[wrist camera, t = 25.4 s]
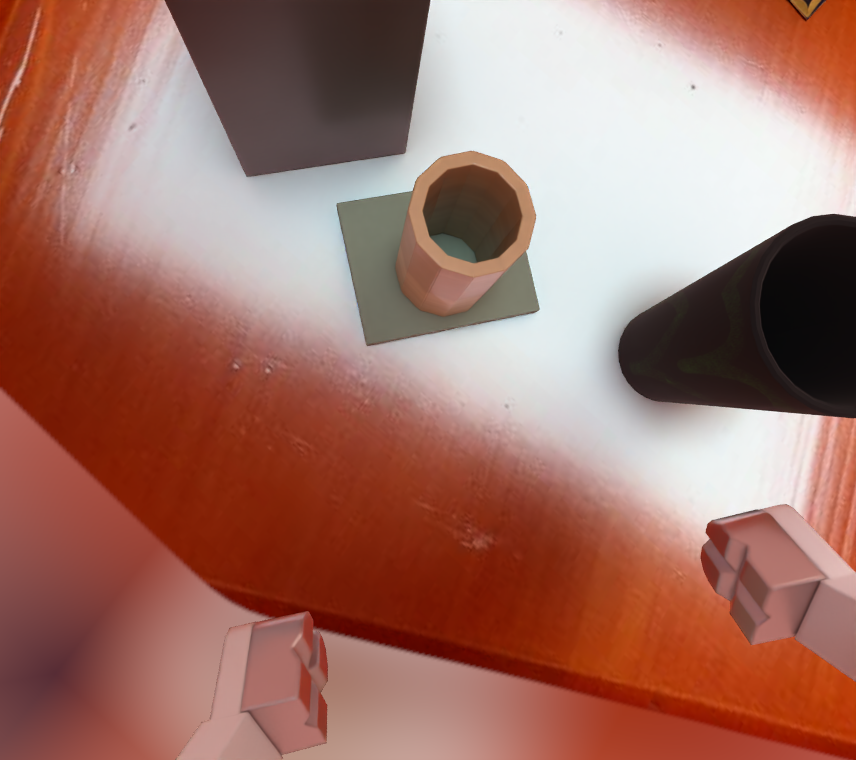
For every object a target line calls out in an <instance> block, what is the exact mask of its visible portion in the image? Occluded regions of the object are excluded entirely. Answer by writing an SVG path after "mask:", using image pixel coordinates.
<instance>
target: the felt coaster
mask: <svg viewBox="0 0 856 760" xmlns="http://www.w3.org/2000/svg"><path fill="white" fill-rule="evenodd" d="M412 192H413V191H411V192H405V193H399V194H392V195H386V196H380V197H374V198H367V199H361V200H355V201H349V202H342V203H337V210H338V215H339V219H340V224H341V229H342V233H343V238H344V243H345V247H346V252H347V257H348V261H349V266H350V270H351V275H352V280H353V284H354V289H355V294H356V298H357V303H358V308H359V312H360V317H361V322H362V326H363V331H364V336H365V340H366V345H367V346H369V345H374V344H379V343H384V342H389V341H394V340H399V339H404V338H409V337H414V336H419V335H424V334H429V333H434V332H439V331H444V330H449V329H454V328H459V327H464V326H469V325H474V324H479V323H484V322H489V321H494V320H499V319H504V318H509V317H514V316H519V315H524V314H529V313H534V312H537V311H539V310H540V309H539V305H538V300H537V296H536V292H535V288H534V283H533V279H532V275H531V270H530V266H529V262H528V258H527V253H526V251H525V252H524V253H523V254H522V256H521V257H520V258H519V259H518V260H517V261H516V262H515V263H514V264H513V265H512V266H511V267H510V268H509V269H508V270H507V271H506V272H505V273H504V274H503V275H502V276H501V277H500V278H499V279H498V281H497V282H496V283H495V284H494V285H493V286H492V287H491V288H490V289H489V290H488V291H487V292H486V293H485V294H484V295H483V296H482V297H481V298H480V299H479V300H478V301H477V302H476V303H475V304H474V305H473V306H472V307H471V308H470V309H469V310H468V311H465V312H461V313H457V314H453V315H449V316H445V317H444V316H443V317H442V316H438V315H435V314H432V313H428V312H425V311H421V310H420V309H418V308H417V307H416V306H415V305H414V304H413V303H412V302H411V301H410V300H409V299H408V298H407V297H406V296H405V295H404V294H403V293H402V291H401V288H400V285H399V281H398V277H397V273H396V270H395V265H396V261H397V256H398V252H399V247H400V242H401V238H402V233H403V229H404V224H405V220H406V215H407V211H408V207H409V203H410V200H411V196H412ZM429 237H430V238H431V239H432V240H433V241H434V242H435V243H436V244H437V245H438V246H439V247H440V248H441V249H442V250H443V251H444V252H445V253H446V254H447V255H448V256H451V257H454V258H458V259H461V260H464V261H468V262H471V263H477V259H476V255H475V252H474V251H473V250H472V249H471V248H470V247H469V246H468V245H467V244H466V243H465V242H464V241H463V240H462V239H461V238H458V237H455V236H451V235H448V234H445V233H441V234H436V235H432V236H429Z"/></svg>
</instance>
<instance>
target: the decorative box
mask: <svg viewBox="0 0 856 760" xmlns="http://www.w3.org/2000/svg"><path fill="white" fill-rule="evenodd" d="M789 1H790V2H791V3H792V4H793V5H794V6H795V7H796V8H797V9H798V11H799V12H800V13H801V14H802V15H803V16H804V17H805V18H806V20H808V19H809V18H810V17H811V16H812V15H813V14H814V13H815V11H816V10H817V9H818V8H819V7H820V6H821V5H822V4H823V3H824V2H825V1H826V0H789Z"/></svg>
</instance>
